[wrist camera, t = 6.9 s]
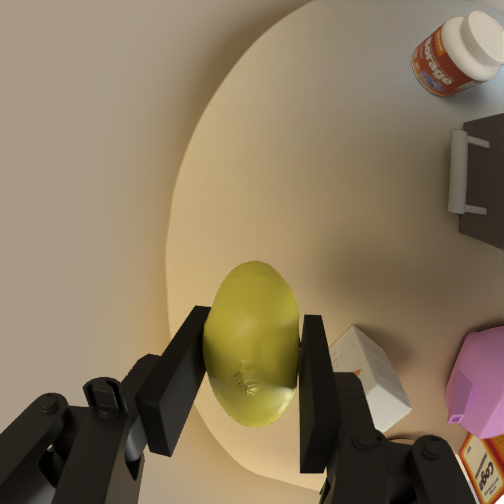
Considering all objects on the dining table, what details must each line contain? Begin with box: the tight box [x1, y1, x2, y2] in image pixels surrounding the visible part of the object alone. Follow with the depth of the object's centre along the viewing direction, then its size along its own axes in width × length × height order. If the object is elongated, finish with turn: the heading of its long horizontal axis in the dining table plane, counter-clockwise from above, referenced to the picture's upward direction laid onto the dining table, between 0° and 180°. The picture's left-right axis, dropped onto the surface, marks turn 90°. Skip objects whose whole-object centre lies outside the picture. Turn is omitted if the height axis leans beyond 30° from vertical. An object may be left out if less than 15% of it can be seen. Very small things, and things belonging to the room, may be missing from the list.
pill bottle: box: [412, 11, 504, 96], centre depth 17 cm, size 6×6×11 cm
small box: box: [329, 325, 413, 433], centre depth 26 cm, size 8×6×10 cm
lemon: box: [202, 261, 303, 427], centre depth 12 cm, size 4×8×4 cm, turn 176°
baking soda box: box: [458, 432, 504, 504], centre depth 24 cm, size 10×6×16 cm
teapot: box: [445, 327, 504, 439], centre depth 23 cm, size 20×12×13 cm, turn 89°
